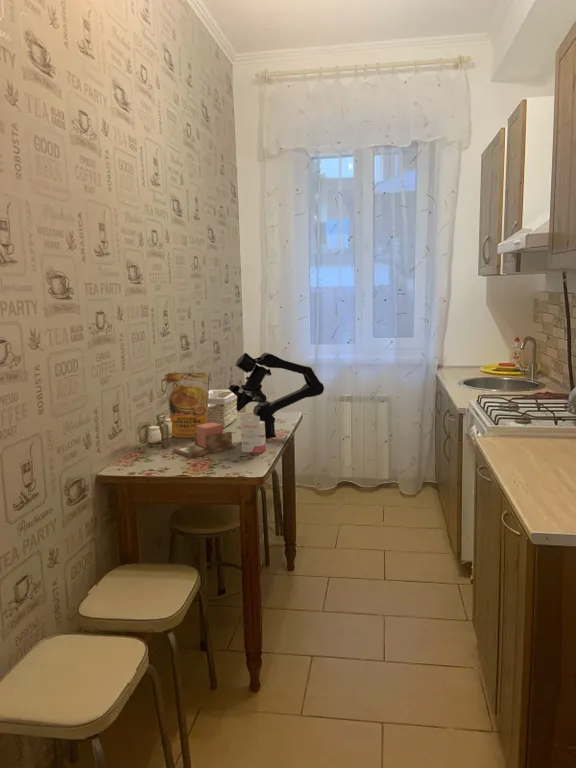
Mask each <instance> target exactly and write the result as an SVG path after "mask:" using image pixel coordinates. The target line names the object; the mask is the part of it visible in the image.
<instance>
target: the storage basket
mask: <svg viewBox="0 0 576 768" xmlns="http://www.w3.org/2000/svg"><path fill="white" fill-rule="evenodd" d="M220 396H223V397H220ZM236 408H237V396H236V395H235V394H234V393H232V392H231V391H230V390H229V389H209V399H208V411H207V423H212V422H214V423H217V424H221V425H222V427H223V429H226V428H227V427H228V426H229V425H230V424H233V423H234V421H236V420H237V419H238V412H239V411H237V410H236Z"/></svg>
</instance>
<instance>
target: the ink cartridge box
mask: <svg viewBox="0 0 576 768" xmlns="http://www.w3.org/2000/svg"><path fill="white" fill-rule="evenodd" d="M249 419H251V420H249ZM240 433H241V434H240V435H241V436H240V437H241V451H242V453H250V452H251V453H252V454H262V453H264V452H266V451H267V443H266V442H267V440H266V438H267V437H266V438H265V421H260V417H259V416H255V415H243V414H242V415H241V416H240Z"/></svg>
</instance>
